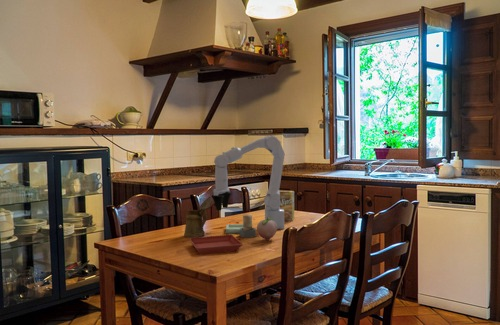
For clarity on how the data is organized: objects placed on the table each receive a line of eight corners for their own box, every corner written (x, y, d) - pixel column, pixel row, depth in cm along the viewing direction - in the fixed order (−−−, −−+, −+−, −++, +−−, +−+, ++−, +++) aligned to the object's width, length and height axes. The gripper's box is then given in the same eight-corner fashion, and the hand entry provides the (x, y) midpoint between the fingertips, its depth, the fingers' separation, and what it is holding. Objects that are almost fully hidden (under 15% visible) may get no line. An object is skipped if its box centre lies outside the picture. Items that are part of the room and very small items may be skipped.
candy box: (276, 220, 240) (275, 191, 239) (278, 218, 244) (278, 190, 243) (292, 221, 237) (292, 191, 236) (294, 219, 241) (294, 190, 240)
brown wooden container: (205, 239, 196) (204, 198, 195) (180, 236, 202) (179, 196, 201) (216, 235, 203) (215, 195, 202) (192, 233, 210) (191, 194, 209)
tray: (249, 228, 220) (249, 223, 219) (249, 233, 208) (249, 229, 207) (226, 228, 219) (226, 224, 219) (225, 233, 207) (225, 229, 207)
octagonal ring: (255, 233, 206) (255, 227, 206) (256, 237, 199) (256, 230, 199) (239, 234, 206) (239, 227, 206) (239, 237, 199) (239, 230, 199)
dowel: (252, 234, 205) (251, 214, 204) (252, 236, 201) (252, 216, 200) (243, 234, 205) (243, 215, 204) (243, 236, 201) (243, 216, 200)
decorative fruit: (260, 237, 199) (260, 214, 198) (278, 238, 196) (278, 215, 196) (254, 242, 190) (253, 218, 189) (273, 243, 187) (273, 219, 187)
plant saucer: (196, 256, 170) (196, 247, 170) (189, 245, 187) (188, 237, 187) (243, 252, 175) (243, 243, 175) (231, 242, 192) (231, 234, 192)
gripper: (219, 178, 223) (220, 206, 223) (207, 181, 209) (207, 211, 210) (233, 178, 220) (233, 206, 221) (221, 181, 207) (222, 211, 207)
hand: (222, 208), depth 215 cm, fingers open, 7 cm apart
